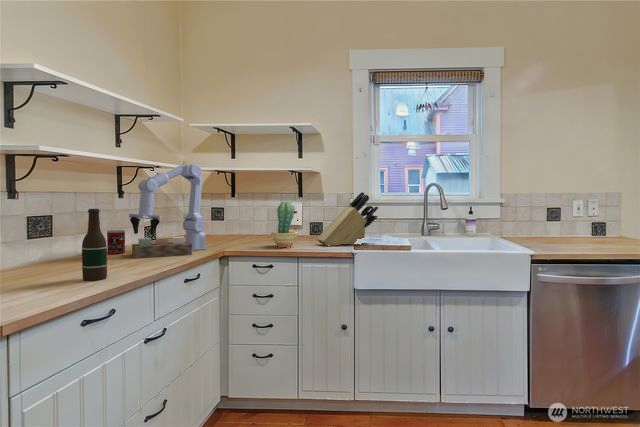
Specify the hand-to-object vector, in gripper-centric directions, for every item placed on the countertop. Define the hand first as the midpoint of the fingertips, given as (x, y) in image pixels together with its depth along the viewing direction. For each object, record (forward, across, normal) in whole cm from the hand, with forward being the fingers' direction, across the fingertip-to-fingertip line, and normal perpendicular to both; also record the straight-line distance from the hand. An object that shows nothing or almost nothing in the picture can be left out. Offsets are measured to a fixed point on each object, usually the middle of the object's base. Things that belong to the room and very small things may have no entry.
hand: (143, 234), depth 192 cm
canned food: (+11, -16, +8) cm, 21 cm away
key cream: (+5, +13, +9) cm, 17 cm away
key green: (+6, 0, +2) cm, 6 cm away
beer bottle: (+14, +7, -50) cm, 52 cm away
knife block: (0, +96, +54) cm, 110 cm away
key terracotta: (+5, +7, +5) cm, 10 cm away
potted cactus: (+4, +61, +40) cm, 73 cm away
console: (+9, +7, +6) cm, 13 cm away
